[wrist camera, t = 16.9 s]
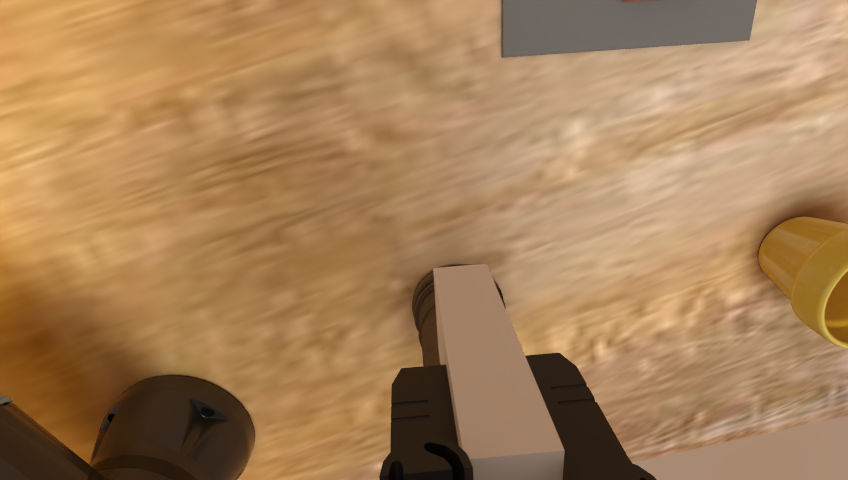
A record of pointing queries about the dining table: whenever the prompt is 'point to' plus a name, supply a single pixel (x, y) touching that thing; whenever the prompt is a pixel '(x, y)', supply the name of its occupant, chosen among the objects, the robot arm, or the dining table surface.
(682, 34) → the mat
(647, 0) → the card box
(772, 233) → the plant pot
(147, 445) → the robot arm
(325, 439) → the dining table surface
